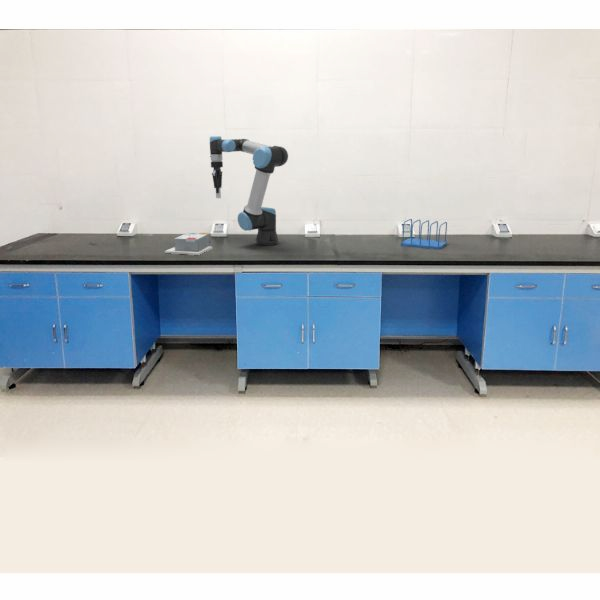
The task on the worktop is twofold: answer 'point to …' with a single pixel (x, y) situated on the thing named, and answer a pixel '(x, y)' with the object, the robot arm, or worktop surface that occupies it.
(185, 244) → the hard drive box
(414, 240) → the file sorter
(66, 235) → the worktop surface
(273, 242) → the robot arm
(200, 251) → the white flat square panel
